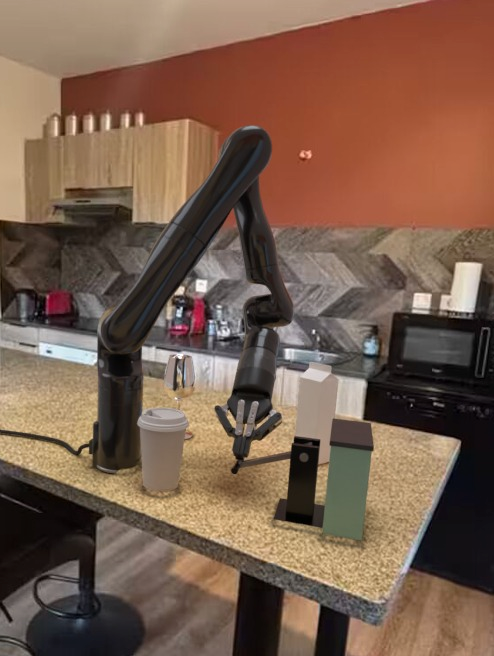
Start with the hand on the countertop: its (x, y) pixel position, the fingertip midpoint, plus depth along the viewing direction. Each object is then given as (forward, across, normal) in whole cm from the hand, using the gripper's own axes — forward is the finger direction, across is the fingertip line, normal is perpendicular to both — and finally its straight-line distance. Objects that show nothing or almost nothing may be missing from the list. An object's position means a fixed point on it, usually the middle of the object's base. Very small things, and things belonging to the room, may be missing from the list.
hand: (239, 458), depth 96 cm
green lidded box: (+7, +18, +7) cm, 20 cm away
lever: (0, +6, 0) cm, 6 cm away
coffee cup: (+5, -15, +8) cm, 18 cm away
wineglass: (-18, -22, +31) cm, 42 cm away
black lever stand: (+7, +11, +7) cm, 14 cm away
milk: (-15, +11, +29) cm, 34 cm away
